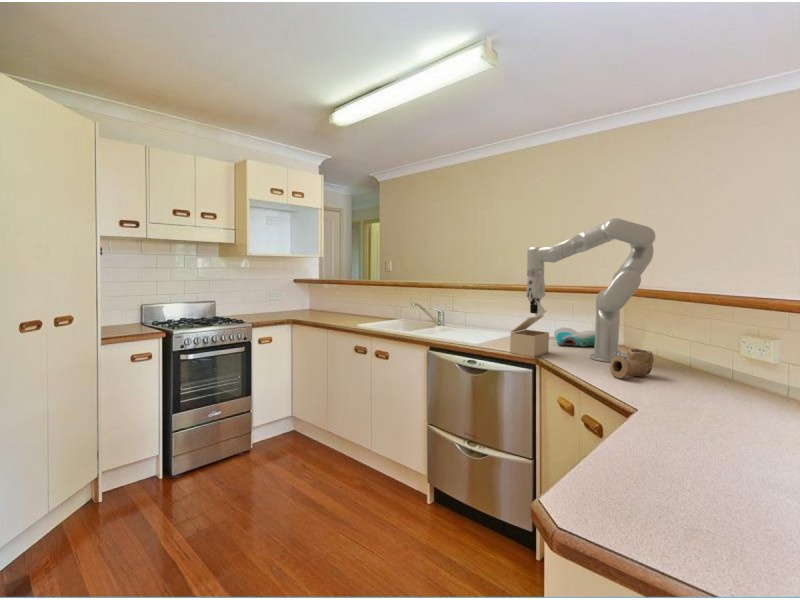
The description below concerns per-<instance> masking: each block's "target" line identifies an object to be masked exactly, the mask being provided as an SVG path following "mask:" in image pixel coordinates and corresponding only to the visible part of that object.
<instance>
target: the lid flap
mask: <svg viewBox="0 0 800 600" xmlns="http://www.w3.org/2000/svg"><path fill="white" fill-rule="evenodd" d="M536 305H537V313H533V314H534V316H531V317H527V318H526V319H525V320H524V321H523V322H522V323H520V324H519V325H517V326H516V327H515V328H514V329H512V330H510V334H511V333H513V332H518V331H522V330H528V328H530V327H531V326H532V325H533V324H535V323H537V322H538V321H539V320H541V319H542V318H543V317H545V315H544V314H545V313H546V312H548V311H547V310H546V309H545V308H544V307H543V305H542V304H541V302H540V303H539V301H537V304H536Z"/></svg>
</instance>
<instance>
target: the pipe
mask: <svg viewBox="0 0 800 600" xmlns="http://www.w3.org/2000/svg"><path fill="white" fill-rule="evenodd" d="M627 354H628V359H626V358H624V357H622V356H615V357H614V358H613V359H612V361H611V362H610V366H609V371H610V374H611V375H612V376H614V378H616V379H620V380H621V379H624V378H627V377H631V376H634V377H639V378H640V377H641V378H642V377H646V376H647V375H650V373H651V371H652V369H653V363H654V361H655V359H654V355H653V351H648V350H645V349H638V348H628V349H627Z"/></svg>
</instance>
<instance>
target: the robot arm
mask: <svg viewBox="0 0 800 600" xmlns="http://www.w3.org/2000/svg"><path fill="white" fill-rule="evenodd" d="M614 240H616V241H617V240H618V241H620V242H624V243H627V244H629V245H630V249H631V250H630V254H628V256H627V258H626V259H625V261H624V262H623V263H622V264H621V266H620V267H619V268H618V269H617V271H615V272H614V274H613V277H612V282H611V283H609V285H608V287H607V288H605V289H602V290H600V291H599V292H598V294H597V295H596V298H595V328H594V331H595V344H594V346H593V353H592V354H590V356H589V358H590V359H591V360H593V361H599V362H605V363H611V361H612V359H613V358H614V357H615V356H622V357H624V358H626V359H628V353H624V352H623V353H622V352H621V350H620V349H619V337H620V324H621V323H620V320H621V315H620V314H621V313H620V312H621V311H620V310H621V309H623V308H624V307H625V305H626V304H627V303H628V302H629V300H630V299H631V298H632V297H633V295H634V294H635V293H636V292H637V290H638V289H639V287H640V286H641V283H642V275H643V273H644V272H645V270H646V269H647V268H648V266H649V265H650V264H651V262H652V259H653V257H654V244H653V243H654V242H655V240H656V232H655V231H654V229H653V228H652V227H650V226H647V225H643V224H639V223H635V222H632V221H629V220H625V219H622V218H616V217H615V218H610V219H608V220H607V221H605V222H602V223H601V224H598V225H595V226H593V227H591V228H588V229H586V230H583V231H582V232H579V233H577V234H575V235H573V237H570V238H568V239H566V240H565V241H562V242H561V243H560V242H559V243H557V244H555V245H550V246H544V247H543V246H531V247H528V249H527V254H526V257H527V258H526V260H527V261H526V262H527V263H526V277H527V281H526V297H527V300H528V301H529V304H530V305H529V308H530V310H529V311H530V313H531V314H534V313H537V305H536V304H537V301H539V303H540V304H541V300H542V299H543V298H545V296H546V293H545V292H546V286H545V262H546V263H552V264H553V263H557V262H560V261H561V260H564V259H566V258H569V257H571V256H574V255H576V254H579V253H584V252H588V251H589V250H591V249H594V248H597V247H599V246H602V245H604V244H607V243H609V242H611V241H614Z"/></svg>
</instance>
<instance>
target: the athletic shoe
mask: <svg viewBox="0 0 800 600" xmlns="http://www.w3.org/2000/svg"><path fill="white" fill-rule="evenodd" d="M554 336H555V341H556V343H557V345H559V346H571V347H588V346H589V347H594V344H595V330H591V329H590V330H583V331H580V332H579V331H576V330H575V329H573V328H571V327H560V328H557V329H555V330H554Z"/></svg>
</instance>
